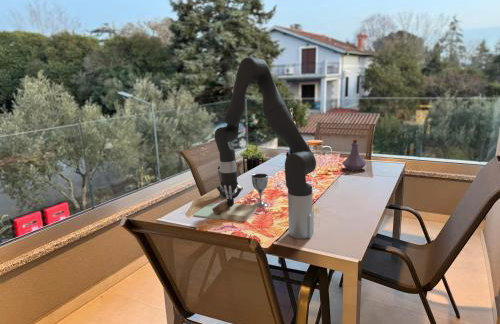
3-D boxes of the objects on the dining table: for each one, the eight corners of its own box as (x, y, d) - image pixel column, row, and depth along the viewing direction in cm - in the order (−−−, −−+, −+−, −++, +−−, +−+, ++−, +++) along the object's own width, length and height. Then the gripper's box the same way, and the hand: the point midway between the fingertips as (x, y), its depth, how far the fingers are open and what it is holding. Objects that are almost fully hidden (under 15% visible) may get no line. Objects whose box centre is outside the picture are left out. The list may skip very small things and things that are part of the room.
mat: (234, 207, 165) (234, 206, 165) (219, 219, 151) (219, 218, 150) (210, 204, 170) (209, 203, 170) (193, 216, 156) (193, 214, 156)
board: (256, 210, 159) (256, 205, 159) (245, 221, 147) (245, 216, 146) (234, 207, 164) (233, 203, 163) (220, 218, 151) (220, 213, 151)
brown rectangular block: (233, 204, 160) (230, 198, 160) (225, 210, 152) (222, 204, 152) (223, 207, 163) (220, 202, 163) (214, 214, 155) (212, 208, 155)
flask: (350, 165, 237) (351, 137, 232) (372, 168, 224) (373, 139, 220) (336, 169, 227) (337, 140, 222) (358, 173, 214) (359, 143, 210)
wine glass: (271, 203, 168) (270, 174, 165) (264, 208, 162) (262, 178, 158) (257, 200, 172) (256, 172, 169) (249, 205, 166) (248, 176, 162)
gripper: (211, 171, 152) (214, 207, 155) (238, 172, 147) (240, 210, 150) (219, 167, 158) (222, 202, 162) (244, 168, 153) (247, 204, 157)
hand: (230, 206), depth 156 cm, fingers closed
